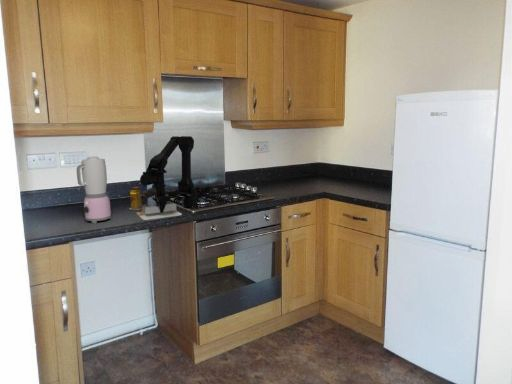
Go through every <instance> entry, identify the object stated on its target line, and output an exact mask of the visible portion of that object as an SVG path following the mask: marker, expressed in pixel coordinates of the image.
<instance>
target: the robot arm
mask: <svg viewBox="0 0 512 384" xmlns="http://www.w3.org/2000/svg"><path fill="white" fill-rule="evenodd" d="M194 145H195V140H194V138H193V136H190V135H189V136H187V135H186V136H185V135H182V136H177V135H176V136H174V135H173V136H171V137H170V138H169V140H168V142H167V144H165V146H164V147H163V148H162V150H161V151H160V152H159V153H158V154H156V155H154V156H152V158H151V159H150V160H149V164H148V166H147V168H146V169H145V170H146V171H143V172H142V174H141V175H140V178H139V182H140V184H141V185H142V186H145V187H146V186H150V185H151V187H150V188H148V189H145V190H143V191H142V192H141V194H142V195H143V197H144V199H146V200H147V199H149V198H151V199H152V200H153V201H154V202H155V204H156V205H155V206H159V209H160V213H163V211H164V208H165V206H166V204H167V202H171V199H172V198H171V196H170V195H168V194H167V192H166V187H167V185H166V183H165V174H167V173H168V171H167V170H165V168H166V166H167V165H168V163H169V162H168V161H169V158H170V157H171V155H172V154H173V152H175V150H176V149H177V148H178V149H179V150H180V152H181V179H180V181H177V189H178V192H179V195H180V197H182V199H181V202H182V203H181V205H182V207H183V208H185V209H190V208H189V207H192V206H193V207H192V208H197V207H196V206H197V205H196V204H197V203H196V197H197V196H198V194H199V192H198V191H197V190H196V188H195V184H194V181H193V179H192V175H191V174H192V168H191V167H192V166H191V165H192V164H191V163H192V160H191V159H192V158H191V157H192V156H191V155H192V154H191V153H192V151H193V149H194Z"/></svg>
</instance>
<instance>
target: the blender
mask: <svg viewBox="0 0 512 384" xmlns="http://www.w3.org/2000/svg"><path fill="white" fill-rule="evenodd" d="M76 178H77V184H78V186H83V187H84V190H85V197H84V200H83V212H84V215H85V217H84V218H85V222H91V223H92V224H97V223H98V222H99V221H106V220H108V219H109V220H112V214H111V213H112V212H111V201H110V198H109V195H108V194H107V183H108V174H107V165H106V159H105V158H99V156H97V155H96V156H93V155H92V156H87V158H86V159H81V164H78V166H77V167H76Z"/></svg>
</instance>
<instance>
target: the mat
mask: <svg viewBox="0 0 512 384" xmlns="http://www.w3.org/2000/svg"><path fill="white" fill-rule="evenodd" d="M177 216H183V215H182V212H179V211H178V210H177V211H173V212H165V213H157V214H150V215H142V216H140V218H141V220H143V221H149V220H156V219H164V218H171V217H177Z"/></svg>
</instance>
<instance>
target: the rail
mask: <svg viewBox="0 0 512 384" xmlns="http://www.w3.org/2000/svg"><path fill="white" fill-rule="evenodd" d="M174 210H177V204H176V203H169V204H167V205H166V206H165V208H164V211H163V212H167V211H174ZM159 212H160V209H159V206H157V205H153V206H152V205H150V206H149V207H144V213H145V214H151V213H159Z"/></svg>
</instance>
